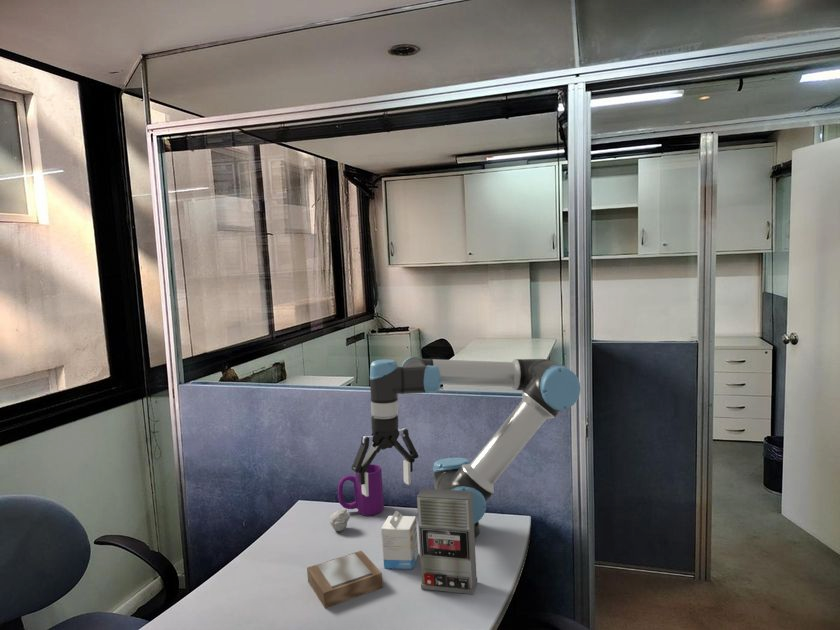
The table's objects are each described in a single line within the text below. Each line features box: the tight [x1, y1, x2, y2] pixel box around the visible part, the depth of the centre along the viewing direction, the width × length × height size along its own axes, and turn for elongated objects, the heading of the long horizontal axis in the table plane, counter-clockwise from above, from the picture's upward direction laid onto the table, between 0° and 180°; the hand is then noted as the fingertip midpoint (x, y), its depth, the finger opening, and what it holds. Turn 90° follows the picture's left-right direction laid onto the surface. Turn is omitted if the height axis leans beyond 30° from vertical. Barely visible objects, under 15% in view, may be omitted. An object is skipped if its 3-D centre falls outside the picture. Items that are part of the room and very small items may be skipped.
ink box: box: [380, 510, 419, 570], centre depth 160 cm, size 9×8×13 cm
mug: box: [337, 463, 385, 517], centre depth 194 cm, size 9×16×15 cm, turn 94°
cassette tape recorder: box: [416, 488, 478, 595], centre depth 146 cm, size 14×6×25 cm, turn 75°
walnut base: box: [306, 550, 384, 609], centre depth 150 cm, size 16×14×4 cm
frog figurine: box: [329, 508, 351, 532], centre depth 181 cm, size 6×7×7 cm
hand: (386, 489), depth 159 cm, fingers open, 13 cm apart
